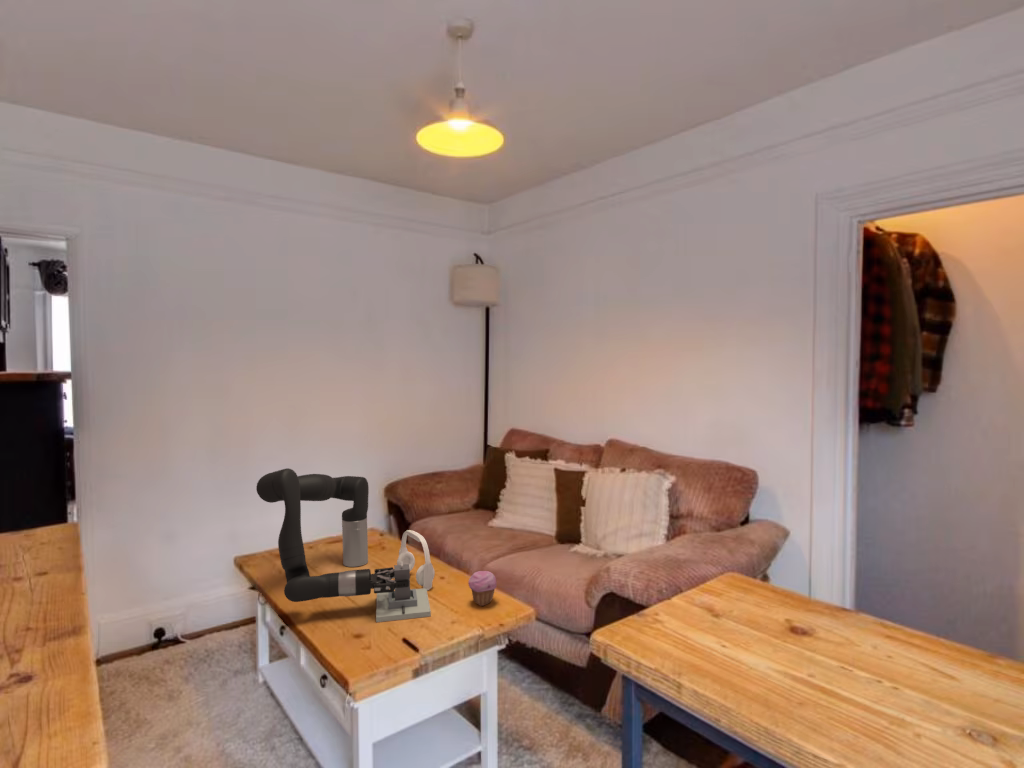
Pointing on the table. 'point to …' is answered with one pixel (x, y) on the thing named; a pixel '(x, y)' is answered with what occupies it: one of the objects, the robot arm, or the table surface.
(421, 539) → the headset
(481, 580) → the cupcake
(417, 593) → the charging dock
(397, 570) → the charger block
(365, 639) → the table surface
